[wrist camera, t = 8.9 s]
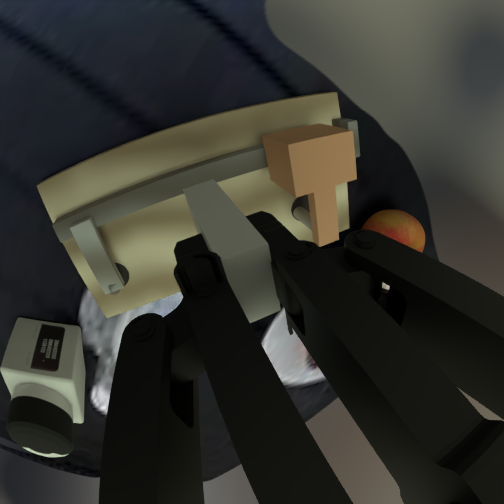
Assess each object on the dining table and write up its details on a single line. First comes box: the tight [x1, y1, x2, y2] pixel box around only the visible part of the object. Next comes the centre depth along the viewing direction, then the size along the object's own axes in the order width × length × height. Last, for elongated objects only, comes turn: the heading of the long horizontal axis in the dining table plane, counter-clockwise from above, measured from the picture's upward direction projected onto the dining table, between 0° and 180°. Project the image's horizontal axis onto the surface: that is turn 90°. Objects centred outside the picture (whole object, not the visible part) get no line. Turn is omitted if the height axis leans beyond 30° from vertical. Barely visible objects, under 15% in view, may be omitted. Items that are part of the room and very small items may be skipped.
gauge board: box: [37, 92, 360, 318], centre depth 23 cm, size 14×26×4 cm, turn 102°
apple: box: [361, 210, 425, 253], centre depth 29 cm, size 7×7×8 cm
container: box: [0, 317, 86, 457], centre depth 21 cm, size 8×8×13 cm
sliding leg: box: [262, 123, 357, 247], centre depth 22 cm, size 8×5×6 cm, turn 12°
